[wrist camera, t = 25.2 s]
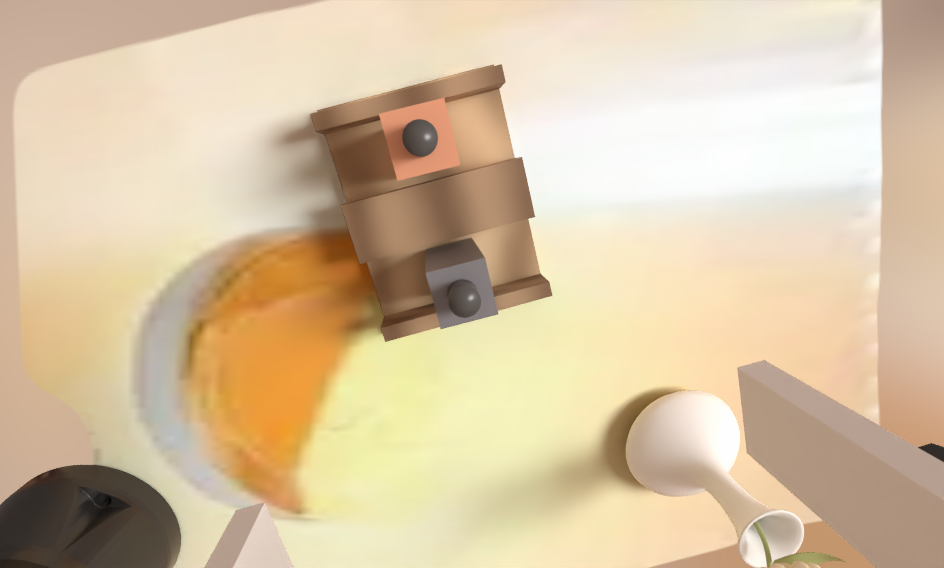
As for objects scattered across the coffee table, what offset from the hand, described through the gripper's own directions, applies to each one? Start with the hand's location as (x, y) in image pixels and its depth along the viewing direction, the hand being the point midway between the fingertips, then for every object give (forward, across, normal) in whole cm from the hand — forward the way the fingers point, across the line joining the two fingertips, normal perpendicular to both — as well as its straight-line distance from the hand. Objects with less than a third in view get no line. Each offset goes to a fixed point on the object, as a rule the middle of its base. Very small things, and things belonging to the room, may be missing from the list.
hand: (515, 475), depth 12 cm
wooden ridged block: (+29, 0, -5) cm, 29 cm away
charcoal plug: (+28, 0, 0) cm, 28 cm away
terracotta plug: (+28, 0, -10) cm, 29 cm away
